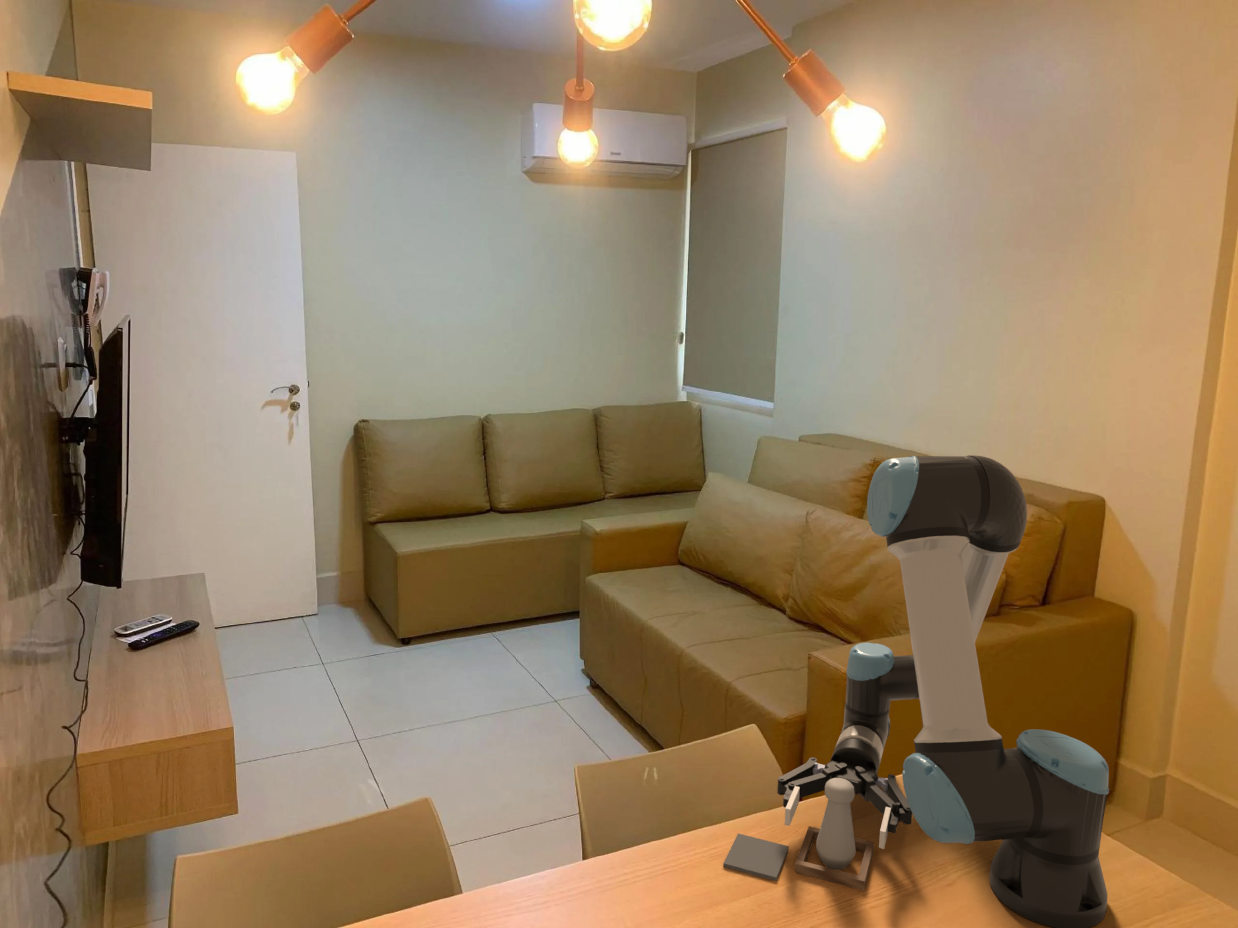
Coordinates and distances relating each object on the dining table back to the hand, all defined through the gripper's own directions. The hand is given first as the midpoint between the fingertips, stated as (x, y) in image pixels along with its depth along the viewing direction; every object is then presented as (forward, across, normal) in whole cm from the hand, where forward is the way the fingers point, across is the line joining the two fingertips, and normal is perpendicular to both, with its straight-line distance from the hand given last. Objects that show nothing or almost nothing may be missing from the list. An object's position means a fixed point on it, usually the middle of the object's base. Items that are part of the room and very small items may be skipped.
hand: (833, 828), depth 131 cm
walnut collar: (-3, 0, -8) cm, 8 cm away
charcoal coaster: (+1, +11, -8) cm, 13 cm away
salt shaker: (-3, 0, -8) cm, 8 cm away
